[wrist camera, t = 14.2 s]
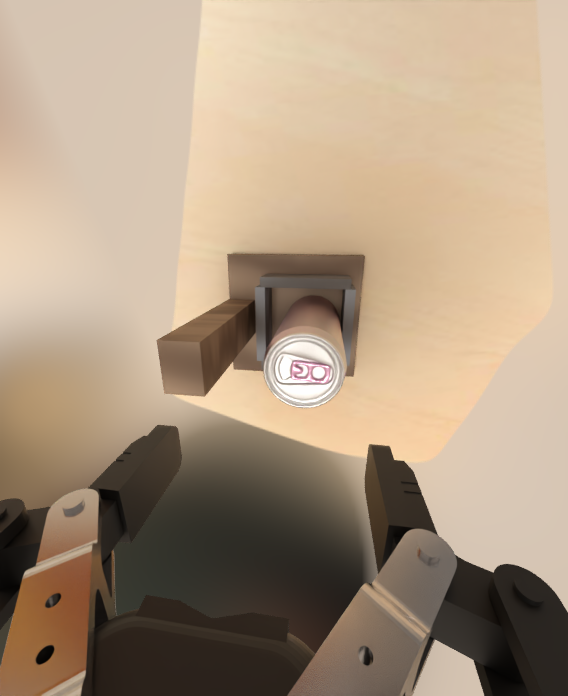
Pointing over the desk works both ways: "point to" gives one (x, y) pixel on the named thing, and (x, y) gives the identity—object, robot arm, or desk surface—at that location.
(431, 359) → the desk surface
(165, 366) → the post holder
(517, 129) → the desk surface
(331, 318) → the beverage can
